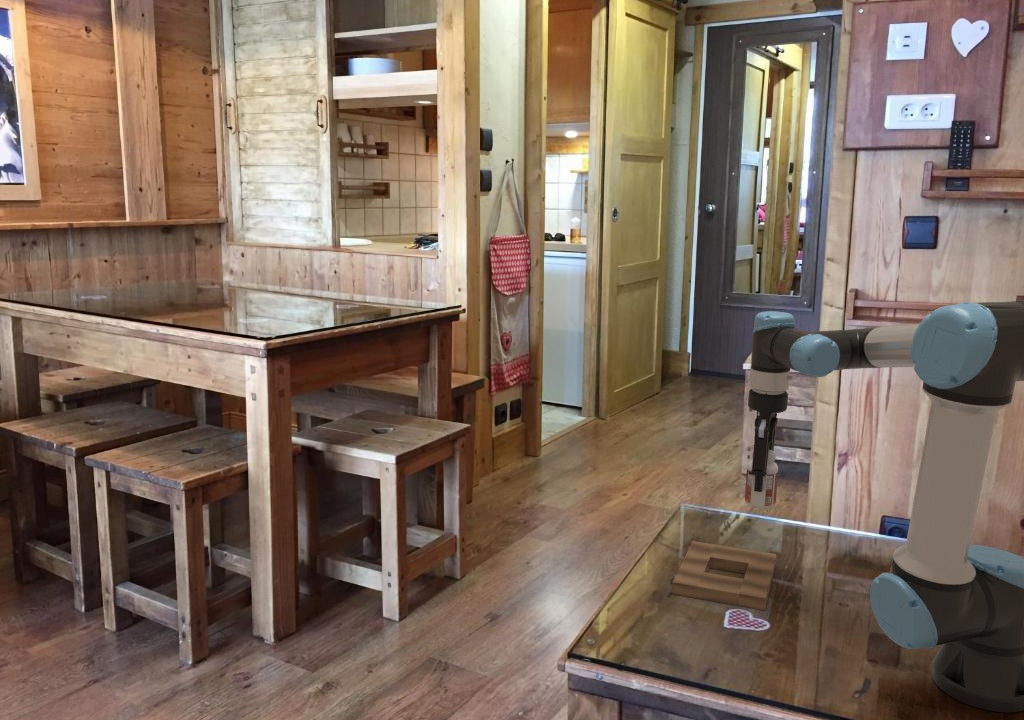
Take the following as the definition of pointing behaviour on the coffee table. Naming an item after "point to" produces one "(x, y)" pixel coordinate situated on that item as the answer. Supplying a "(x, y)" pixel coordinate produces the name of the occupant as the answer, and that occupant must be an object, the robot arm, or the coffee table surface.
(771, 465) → the pill bottle
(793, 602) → the coffee table surface
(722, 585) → the square wooden frame
